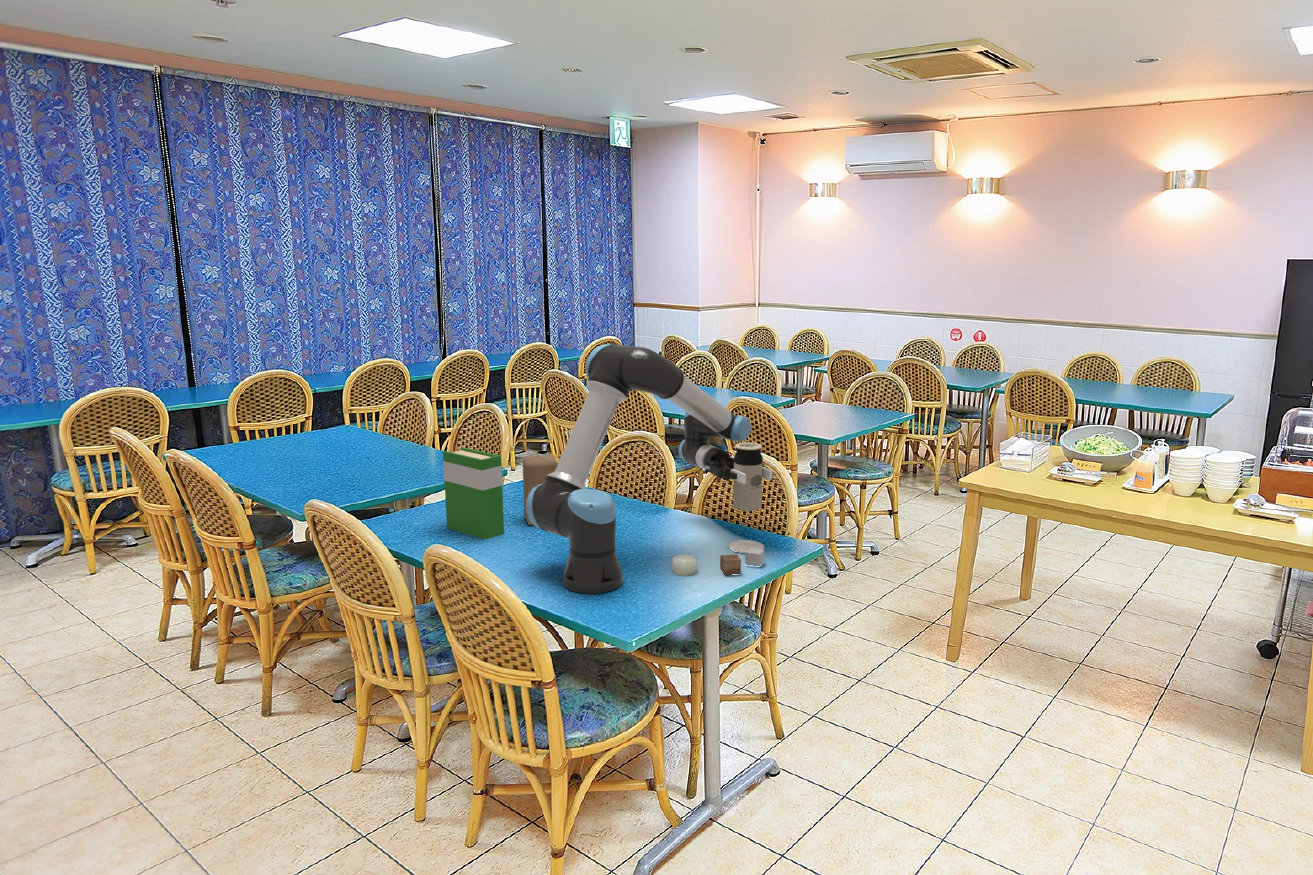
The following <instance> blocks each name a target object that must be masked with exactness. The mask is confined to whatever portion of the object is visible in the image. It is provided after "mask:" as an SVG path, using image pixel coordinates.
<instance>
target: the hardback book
mask: <svg viewBox="0 0 1313 875" xmlns="http://www.w3.org/2000/svg"><path fill="white" fill-rule="evenodd" d="M459 448H460V450H456V451H452V452H451V451H447V450H444V451H442V455H443V456H442V457H443V458H442V460H443V478H444V497H445V498H444V500H445V515H446V528H447V529H449V530H453V531H455V532H459V533H462V532H463V533H462V534H465V533H466V535H467V536H468V535H469V536H471V535H472V536H471V537H474V536H475V537H474V538H477V537H480V538H479V539H481V538H482V539H481V540H484V539H486V540H488V539H487V538H489V539H491V538H490V537H492V538H494V537H497V536H500V535H501V536H502V535H504V534H505V521H504V520H505V519H504V494H503V472H502V471H503V468H502V455H499V454H495V453H491V452H488V451H487V452H486V451H482V450H477V449H472V448H468V447H463V446H461V447H459Z"/></svg>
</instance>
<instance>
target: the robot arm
mask: <svg viewBox="0 0 1313 875" xmlns="http://www.w3.org/2000/svg"><path fill="white" fill-rule="evenodd" d="M585 369H586V372H585V374H586V377H587V381H586V386H587V388H588V393H587V396H586V398H585V400H584V403H583V405H582V408H581V410H580V412H579V414H578V417H577V419H576V421H575V424H574V426H573V428H572V431H571V433H570V435H569V438H568V440H567V443H566V444H565V447H564V450H562V451H563V452H562V454H561V456H560V458H559V461H558V465H557V468H556V470H555V472H553V473H551V474H548V475H547V476H546V479H545V481H544V483H543V484H540V485H537V486H536V487H534V488H533V489H532V490H531V492H530V493H529V495H528V498H527V502H526V512H527V514H528V518H529V520H530V521H531V523H532V524H533V525H532V526H534V527H536V528H539V529H540V530H542V531H544V532H547V533H552V534H555V535H558V536H561V537H564V538H568V541H569V556H568V558H567V562H566V565H565V568H564V571H563V574H562V577H563V578H562V579H563V580H562V581H563V582H562V584H563V586H564V587H565V588H566V589H567V590H569V591H571V592H573V593H574V592H575V593H579V594H594V595H595V594H604V593H609V592H612V591H614V590H617V589H618V588H620V587H621V586H622V585H623V579H624V578H623V576H624V575H623V571H622V568H621V565H620V562H619V560H618V557H617V554H616V552H617V551H616V529H617V528H616V525H617V524H616V523H617V520H616V519H617V512H616V506H615V505H616V504H615V500H614V498H613V497H612V496H611V494H609V493H607V492H605V491H603V490H598V489H591V488H587V487H586V482H587V480H588V478H589V475H590V472H591V470H592V467H593V466H594V463H595V460H596V458H597V456H598V454H599V450H600V448H601V446H602V443H603V442H604V439H605V436H606V434H607V433H608V432H607V431H609V430H608V429H609V427H610V425H611V423H612V420H613V418H614V415H615V414H616V411H617V408H618V406H619V404H620V403H622V402H625V401H627V399H628V397H629V394H630V391H637V392H644V393H648V394H651V395H654V396H656V397H658V398H659V399H660V400H661V399H662V400H669V401H670V402H672V403H673V404H675V405H676V406H677V407H679V408H681V409H682V411H684V439H683V440H682V441H681V442H680V443H679V447H678V456H679V457H680V459H681V460H683V461H684V462H686V463H687V464H689V465H692V466H695V467H697V468H700V469H703V470H704V471H705V472H707V473H710V474H712V475H714V476H715V478H718V479H721V480H723V478H725V482H730V480H733V481H734V480H735V481H738V482H740V483H743V484H746V474H745V473H742V472H740V471H737V470H735V469H734V456H731V455H730V454H729V453H728V451H726V450H724V449H722V448H719V447H717V446H713V445H712V444H710V437H711V438H717V439H724V440H728V441H732V442H743V441H745V440H747V439H748V437H749V436H750V433H751V430H752V429H751V428H752V426H751V421H750V419H749V418H748V417H746V416H743V415H740V414H738V415H736V414H735V413H733V412H732V411H730V410H729V409H728V408H726V407H725V406H724V405H722V404H721V403H720V402H718V401H717V400H716V399H714V398H713V397H712V396H711V395H709V394H708V393H707V392H705V391H704V390H703V389H702V388H700V387H699V386H698V385H696V384H695V383H694V382H692V381H691V380H690V379H688V378H687V377H685V372H684V371H683V369H681V368H680V367H678V366H677V365H676V364H674V362H672V361H670V360H669V359H667V358H666V357H665V356H663V355H662V354H660V353H658V352H656V351H654V350H653V349H650V348H648V347H642V346H633V345H630V346H629V345H624V344H623V345H621V344H619V343H609V344H607V343H606V344H602V345H599V346H597V347H595V348H594V349H593V350H591V353H590V354H589V355H588V358H587V360H586V362H585ZM772 476H773V470H772V469H770V468H766V467H765V463H764V462H763V466H762V479H763V478H764V479H765V480H769V481H771V480H773V479H772V478H773V477H772Z"/></svg>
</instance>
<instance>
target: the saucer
mask: <svg viewBox="0 0 1313 875" xmlns="http://www.w3.org/2000/svg"><path fill="white" fill-rule="evenodd" d="M729 548H731V549H732V550H734V551H737V552H741V553H745V552H746V551H747V550H748V549H749V548H756V549H762V550H763V549H764V550H765V545H764V544H763V543H761V542H759V541H755V540H749V539H748V540H747V539H744V540H743V539H741V540H735V541H732V542H730V543H729V544H728V549H729ZM741 553H740V554H741Z"/></svg>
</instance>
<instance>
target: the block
mask: <svg viewBox="0 0 1313 875" xmlns="http://www.w3.org/2000/svg"><path fill="white" fill-rule="evenodd" d="M558 463H559V461H558V460H557V459H556V457H555V456H554V455H553V454H545V455H532V456H531V455H529V456H524V457H523V458H522V480H523V481H522V484H523V513H524V515H523V516H524V517H525V520H526V522H527V525H528V526H534V525H533V524H532V523H531V521H530V520H529V518H528V514H527V512H526V502H527V498H528V495H529V493H530V492H531V490H532V489H533V488H534V487H536V486H537V485H540V484H543V483H544V481H545V479H546V476H547V475H548V474H551V473H553V472H555V470H556V468H557V465H558Z"/></svg>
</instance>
